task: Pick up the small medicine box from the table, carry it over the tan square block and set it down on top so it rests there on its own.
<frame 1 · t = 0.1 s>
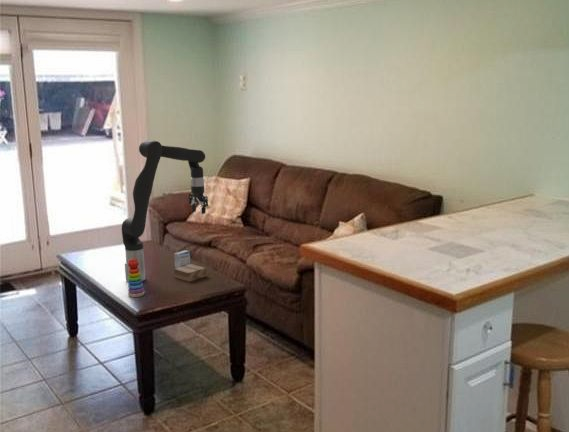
hand: (198, 212, 348), 29 cm above the table, tool pointing down, fingers open, 8 cm apart
tan square block: (190, 277, 326), on the table
stacking toy: (136, 295, 299), on the table
medicine box: (182, 266, 344), on the table
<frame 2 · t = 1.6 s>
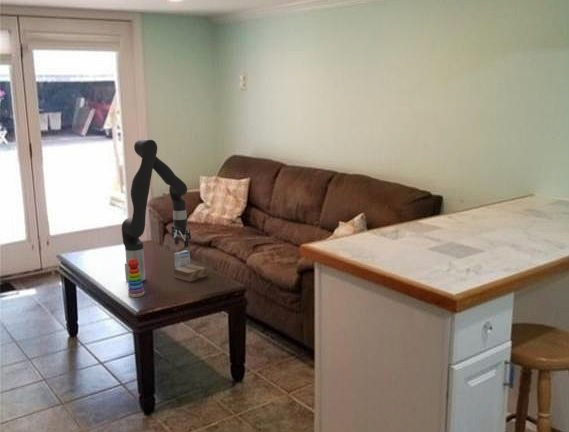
hand: (181, 245, 341), 12 cm above the table, tool pointing down, fingers open, 8 cm apart
nothing on the table moved.
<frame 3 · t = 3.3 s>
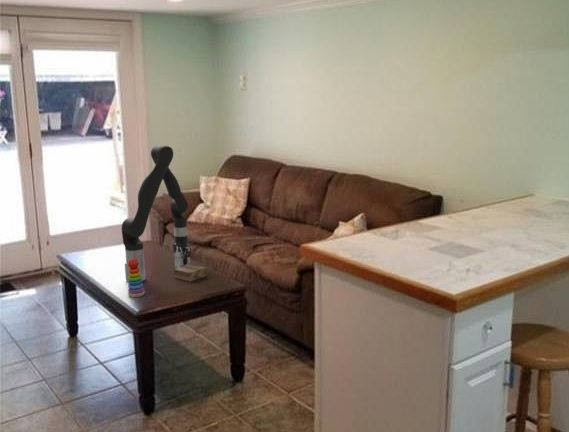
hand: (182, 263, 344), 2 cm above the table, tool pointing down, fingers closed on medicine box, 4 cm apart
medicine box: (182, 266, 344), on the table, touching gripper
everything else where it was.
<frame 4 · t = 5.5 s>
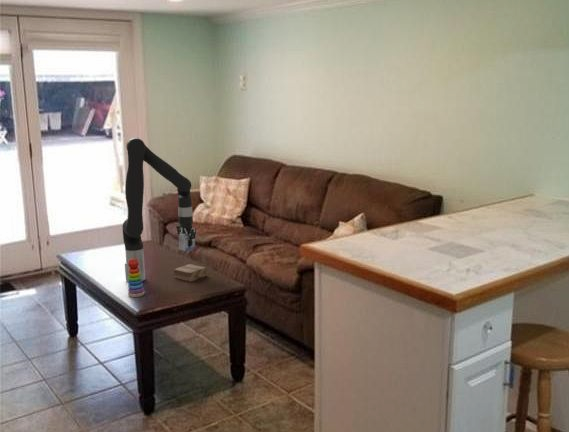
hand: (187, 245, 326), 16 cm above the table, tool pointing down, fingers closed on medicine box, 4 cm apart
medicine box: (187, 249, 327), point 14 cm above the table, touching gripper
everything else where it was.
when the fingers open (8 cm above the table, at t = 7.7 s): medicine box drops 2 cm, resting on tan square block.
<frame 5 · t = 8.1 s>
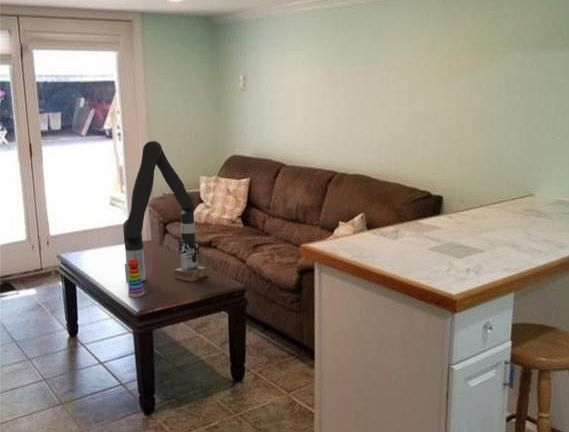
hand: (189, 260, 324), 9 cm above the table, tool pointing down, fingers open, 8 cm apart
tan square block: (190, 277, 326), on the table, touching medicine box
medicine box: (189, 268, 325), point 4 cm above the table, touching tan square block
everything else where it was.
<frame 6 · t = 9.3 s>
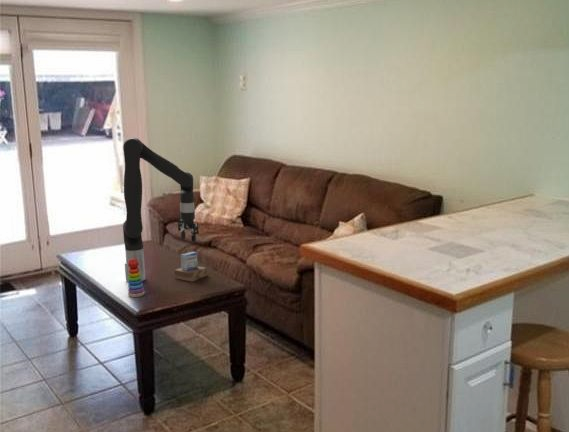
hand: (188, 240, 321), 20 cm above the table, tool pointing down, fingers open, 8 cm apart
nothing on the table moved.
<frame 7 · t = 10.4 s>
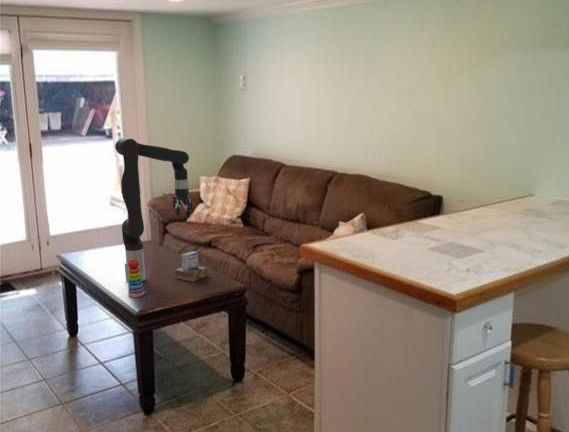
hand: (183, 216, 334), 30 cm above the table, tool pointing down, fingers open, 8 cm apart
tan square block: (191, 277, 325), on the table
medicine box: (190, 268, 324), point 4 cm above the table
everything else where it was.
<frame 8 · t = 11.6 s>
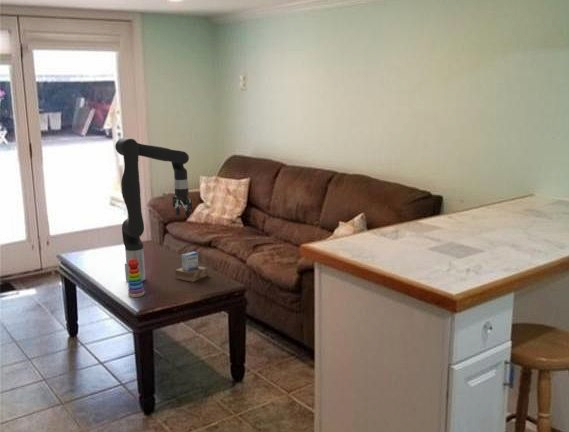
hand: (182, 216, 334), 30 cm above the table, tool pointing down, fingers open, 8 cm apart
tan square block: (191, 277, 325), on the table, touching medicine box
medicine box: (190, 269, 324), point 4 cm above the table, touching tan square block
everything else where it was.
at the end: medicine box inside the target area on the tan square block (0.4 cm from its centre), point 4.8 cm above the tan square block's base; medicine box tilted 0°; the gripper is holding nothing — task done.
